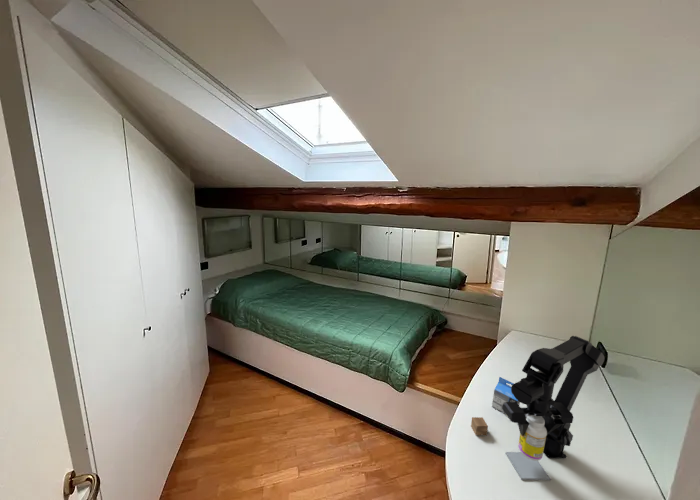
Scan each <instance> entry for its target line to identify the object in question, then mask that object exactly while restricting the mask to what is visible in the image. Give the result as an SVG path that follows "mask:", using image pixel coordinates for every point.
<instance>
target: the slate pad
mask: <svg viewBox="0 0 700 500" xmlns="http://www.w3.org/2000/svg"><path fill="white" fill-rule="evenodd" d="M505 455H506V457H507V458H508V460H509V462H510V463H511V465H512V466H513V468H514V470H515V472H516V474H517V475H518V476H519V478H520V480H523V481H530V480H531V481H551V477H550V475H549V473H547V471H546V470H545V468H544V467H543V466H542V464H541V462H540V460H538V461H534V460H531V459H528V458H527V457H525V456H524V455H523V454H522V453H521V452H520V451H505Z"/></svg>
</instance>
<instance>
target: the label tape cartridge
mask: <svg viewBox="0 0 700 500" xmlns="http://www.w3.org/2000/svg"><path fill="white" fill-rule="evenodd" d="M512 384H515V383H514V382H512V381H510V380H507V379H506V378H504V377H501V376H498V381H497V384H496V385H495V388H494V391H493V396H492V403H491V407H492V408H493V409H494V410H497V411H498V412H501V413H503V414H504V415H506V413H505V412H504V410H503V409H502V407H503V403H504V402H517V404H518V405H519V406H520V404H521V403H520V402H519V401H518V400H517V399H516V398H515V396H514V395H513V394H512V392H511V387H512Z"/></svg>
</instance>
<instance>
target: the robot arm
mask: <svg viewBox="0 0 700 500" xmlns="http://www.w3.org/2000/svg"><path fill="white" fill-rule="evenodd" d="M568 362H569V363H570V364H569V365H570V367H569V370H568V372H567V374H566V376H565V378H564V380H563V381H562V383H561V387H560V388H559V391H558V392H557V394H556V397H554V399H553V393H554V388H555V384H556V383H557V382H558V381H559V379H560V377H561V376H562V375H563V373H564V365H565V364H567V363H568ZM604 362H605V355H604V353H603V352H602V351H601V350H600V349H598V348H597V347H595V346H594V345H593V343H592V342H590V341H589V340H587V339H585V338H582V337H579V336H577V335H571V336H570V337H569V338H568V339H567V340H565V341H564V342H562V343H560V344H558V345H556V346H554V347H552V348H548V347H547V348H546V347H542V348H539V349H536V350H534V351H532V352H531V354H530V355H529V357H528V358H527V361H526V362H525V365H524V366H523V368H522V369H521V370H522V372H523V373H524V374H526V377H523V378H521V379H520V380H518V381H516V382H515V383H514V384H512V385H511V392H512V394H513V395H514V396H515V398H516V399H517V400H518V401H519V402H520V404H523V405H526V407H521V406H520V405H518V404H517V402H504V403H503V407H502V409H503V410H504V412H505V413H506V414H505V415H506V417H508V419H509V421H510V422H512V423H514V424H517V426H518V430H519V435H520V434H521V435H522V436H524V435H525V433H526V430H527V428H528V426H529V423H528V421H527V420H526V419H527V416H542V417H543V418H544V420H545V425H544V426H545V428H546V430H547V435H546V440H545V446H544V451H543V455H545V457H546V458H548V459H567V457H568V456H567V455H566V454H565V453H564V449H565V446H567V447H570V446H571V443H572V440H573V438H574V435H573V433H572V432H571V431H570V428H571V426H572V424H573V421H574V414H573V412H571V410H572V408H573V406H574V403H575V401H576V400H577V398H578V395H579V393H580V391H581V389H582V387H583V385H584V383H585V380H586V379H587V377H588V376H589V375H590V374H593V373H594V372H596V371H598V369H599V367H602V365H603V364H604ZM531 367H533V368H534V369H533V368H531ZM535 369H536V370H535Z"/></svg>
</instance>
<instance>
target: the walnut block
mask: <svg viewBox="0 0 700 500" xmlns="http://www.w3.org/2000/svg"><path fill="white" fill-rule="evenodd" d="M470 427H471V429H472V431H473V433H474V435H475V436H487V434H488V427H489V425H488V424H487V421H485V419H484V417H483V416H482V417H478V416H477V417H476V416H475V417H474V416H473V417H471V423H470Z"/></svg>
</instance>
